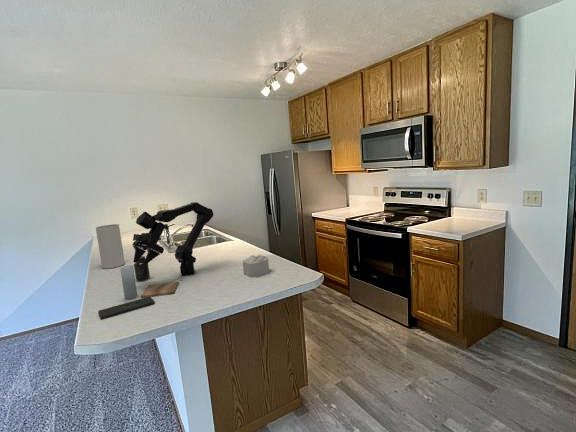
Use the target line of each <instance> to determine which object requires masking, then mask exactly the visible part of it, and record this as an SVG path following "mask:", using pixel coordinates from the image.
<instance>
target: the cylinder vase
mask: <svg viewBox="0 0 576 432" xmlns="http://www.w3.org/2000/svg"><path fill="white" fill-rule="evenodd" d="M95 231H96V238H97V239H96V240H97V244H98V245H97V246H98V251H99V257H100V264H101V267H102V268H103V269H105V270H107V269H108V270H109V269H114V268H119V267H120V268H121V267H123V266H125V262H126V261H125V256H124V255H125V254H124V249H123V243H122V235H121V230H120V224H117V223H116V224H104V225H99V226H96V227H95Z"/></svg>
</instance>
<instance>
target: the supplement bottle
mask: <svg viewBox="0 0 576 432" xmlns="http://www.w3.org/2000/svg"><path fill="white" fill-rule="evenodd" d="M145 258H146V256H145V255H142V256H141V258H140V259H139V260H138V261H137V262H136V263H135V262H134V264H133V268H134V275H135V281H137V282H145V281H148V280H149V279H150V278H151V274H150V273H151V272H150V268H149V263H148V264H146V265H144V261H145Z"/></svg>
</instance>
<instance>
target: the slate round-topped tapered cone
mask: <svg viewBox="0 0 576 432" xmlns="http://www.w3.org/2000/svg"><path fill="white" fill-rule="evenodd" d="M119 269H120V270H119V271H120V276H121V283H122V288H123V294H124V300H127V301H128V300H129V301H130V300H133V299H137V297H138V289H137V283H136V276H135V270H134V265H132V264H131V265H123V266H120V268H119Z"/></svg>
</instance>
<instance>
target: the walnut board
mask: <svg viewBox="0 0 576 432" xmlns="http://www.w3.org/2000/svg"><path fill="white" fill-rule="evenodd" d="M179 284H180V283H179V281H171V282H165V283H164V282H163V283H155V284H148V285H147V287H146V288H145V290H144V291H143V292H142V294H141V296H140V299H142V298H146V297H151V298H152V297H154V298H155V297H159V296H160V297H161V296H167V295H169V296H170V295H174V294H175V293H176V290H177V289H178V287H179Z"/></svg>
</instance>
